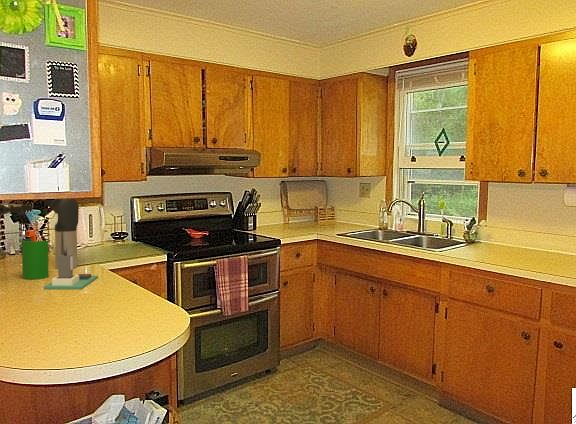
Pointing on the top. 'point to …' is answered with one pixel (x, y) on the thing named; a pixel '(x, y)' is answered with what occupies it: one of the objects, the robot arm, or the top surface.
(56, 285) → the board
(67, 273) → the plug
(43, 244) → the green pen holder
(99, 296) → the top surface
